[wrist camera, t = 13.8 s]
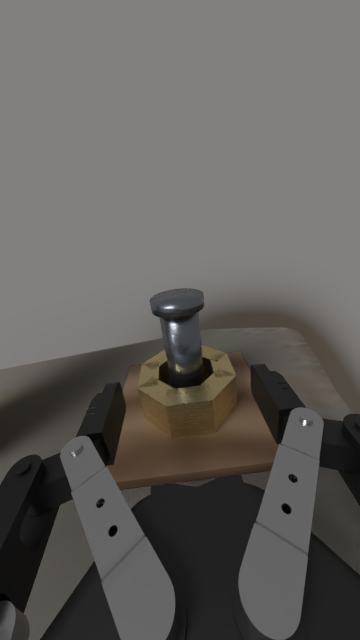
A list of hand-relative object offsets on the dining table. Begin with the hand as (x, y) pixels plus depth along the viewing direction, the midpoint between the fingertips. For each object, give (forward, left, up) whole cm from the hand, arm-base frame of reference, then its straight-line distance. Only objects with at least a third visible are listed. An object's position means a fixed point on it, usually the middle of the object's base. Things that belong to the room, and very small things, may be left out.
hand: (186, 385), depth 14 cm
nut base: (+5, +6, -10) cm, 13 cm away
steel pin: (+5, +6, -9) cm, 12 cm away
